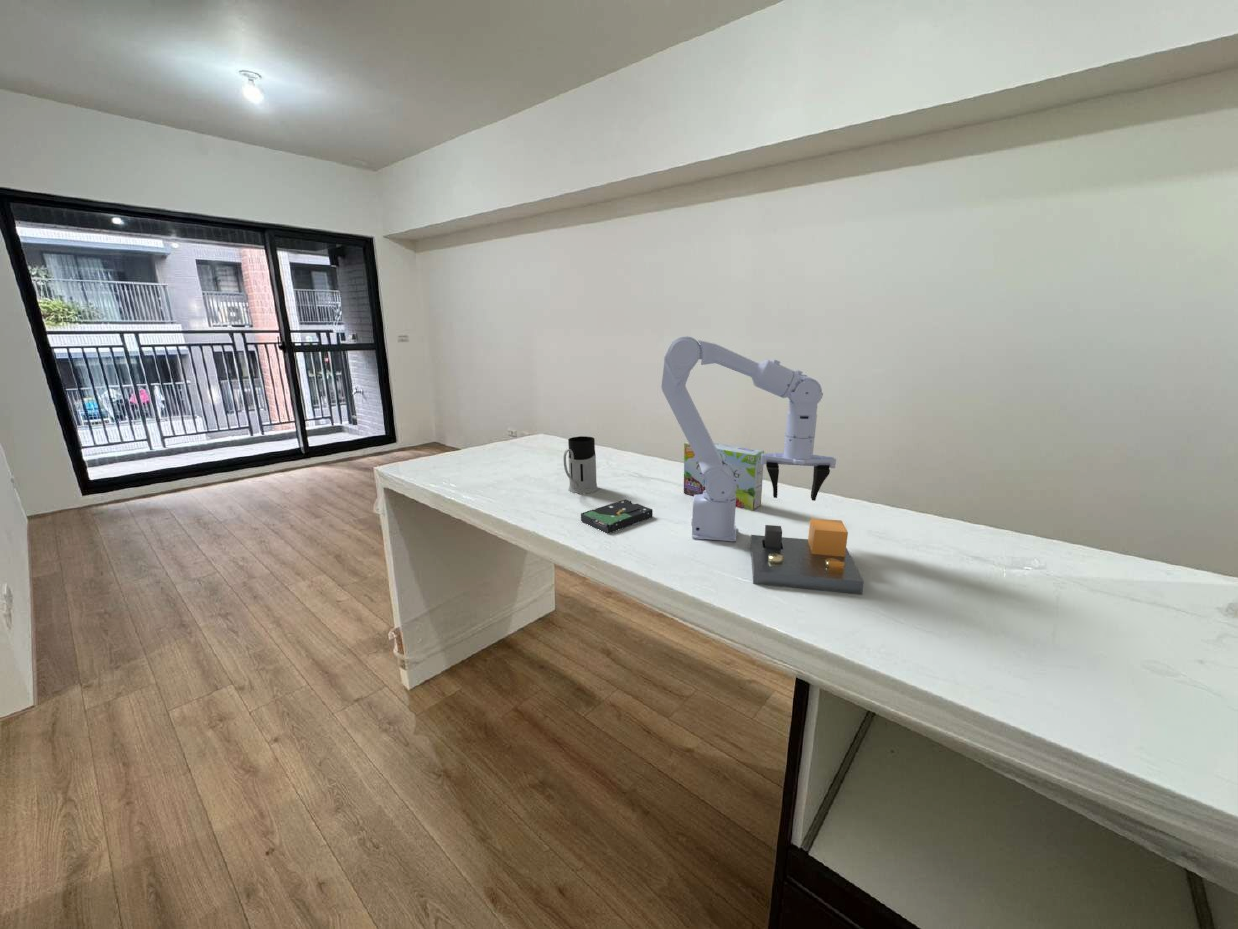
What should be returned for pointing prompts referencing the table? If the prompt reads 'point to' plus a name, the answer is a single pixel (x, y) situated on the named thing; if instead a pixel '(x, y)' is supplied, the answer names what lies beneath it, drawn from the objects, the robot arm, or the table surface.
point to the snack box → (743, 466)
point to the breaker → (773, 537)
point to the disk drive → (616, 516)
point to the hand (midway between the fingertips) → (793, 497)
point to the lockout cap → (827, 537)
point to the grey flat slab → (803, 567)
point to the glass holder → (581, 464)
